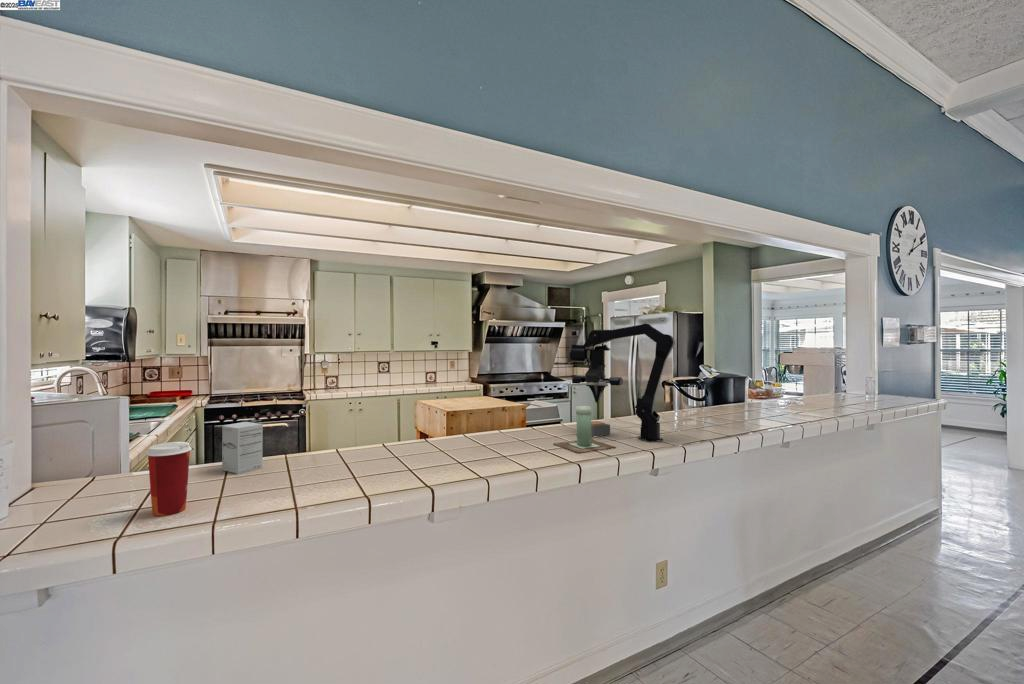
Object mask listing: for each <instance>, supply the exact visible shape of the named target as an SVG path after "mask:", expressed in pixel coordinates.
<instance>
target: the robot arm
mask: <svg viewBox="0 0 1024 684" xmlns="http://www.w3.org/2000/svg"><path fill="white" fill-rule="evenodd" d="M641 335H645V336H647V338H649V339H650V340H652V341H653V342H655V343H656V344H655V358H654V361H653V363H652V368H651V370H650V375H649V378H648V380H647V384H646V387H645V390H644V393H643V395H642V396H641V395H639V396H638V397H637V399H636V404H635V406H634V409H635V415H636V416H637V417H638V418H639V419H640V422H641V424H640V436H638V437H637V439H639V440H642V441H645V440H646V441H645V442H649V441H654V442H658V441H657V440H661V441H664V439H663V438H661V436H660V435H661V433H660V432H661V431H660V430H661V422H659V421H660V418H661V415H659V413H657V411H655V407H656V406H655V405H656V394H657V392H658V389H659V386H660V385H659V384H660V382H661V377H662V375H663V372H664V368H665V365H666V361H667V359H668V358H669V356H670V354H671V353H672V350H673V349H674V346H675V344H676V341H675V339H674V336H672V335H670V334H666V333H663V332H661V331H660V330H658V329H656V328H654V327H653V325H651V324H649V323H647V322H646V323H645V322H644V323H642V324H637V325H631V326H626V327H619V328H614V329H593V330H591V331H590V332H589V334H588V338H587V339H586V341H584V342H585V343H584V344H571V348H570V352H569V360H570V362H573V363H574V362H575V363H576V362H577V363H586V362H587V360H589V364H588V370H587V371H586V372H585V373H584V375H578V374H576V375H574V376H572V378H571V383H572V384H581V383H586V386H585V387H589V389H590V390H591V392H592V396H593V398H594V401H595V404H596V403H597V404H598V403H599V402H600V400H601V397H602V394H603V392H604V390H605V388H606V387H609V385H611V386H622V385H624V380H623V379H624V378H623V376H611V377H609V378H608V377H607V378H606V372H605V371H606V369H605V368H606V359H605V358H606V357H605V356H606V351H607V352H608V351H611V348H610V347H608V345H607V343H609V342H611V341H614V340H618V339H622V338H628V337H629V338H630V337H635V336H641ZM597 345H598V346H597Z"/></svg>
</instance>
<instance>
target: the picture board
mask: <svg viewBox="0 0 1024 684" xmlns="http://www.w3.org/2000/svg"><path fill="white" fill-rule="evenodd" d="M553 445H554V446H556V445H557V446H556V447H559V448H562V449H564V450H567V451H569V450H570V452H572V453H575V454H577V453H579V454H585V452H586V453H591V451H593V452H598V451H597V450H600V451H605V450H604V449H606V450H612V449H611V448H613V449H617V446H614V445H611V444H607V443H604V442H601V441H598V440H595V439H592V445H591V446H578V445H577V439H576V440H571V441H570V440H568V441H562V442H554V443H553Z"/></svg>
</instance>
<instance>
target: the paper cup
mask: <svg viewBox="0 0 1024 684" xmlns="http://www.w3.org/2000/svg"><path fill="white" fill-rule="evenodd" d="M192 449H193V448H192V447H191V446H190V443H189V442H187V441H171V442H170V441H169V442H163V443H162V442H161V443H158V444H154V445H150V447H149V448H148V451H147V452H146V453H145V455H146V456H147V458H148V473H149V487H150V499H151V500H150V501H151V511H152V515H153V516H155V517H166V516H167V517H168V516H172V515H177V514H179V513H182V512H184V511H185V510H186V508H187V498H188V497H187V496H188V485H189V484H188V483H189V471H190V469H189V467H190V457H191V456H190V455H191V451H192Z"/></svg>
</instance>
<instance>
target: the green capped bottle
mask: <svg viewBox="0 0 1024 684" xmlns="http://www.w3.org/2000/svg"><path fill="white" fill-rule="evenodd" d="M575 413H576V414H575V415H576V440H577V445H578V446H591V445H592V440H593V439H592V438H593V437H592V436H591V421H592V406H590V405H577V406H575Z"/></svg>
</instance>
